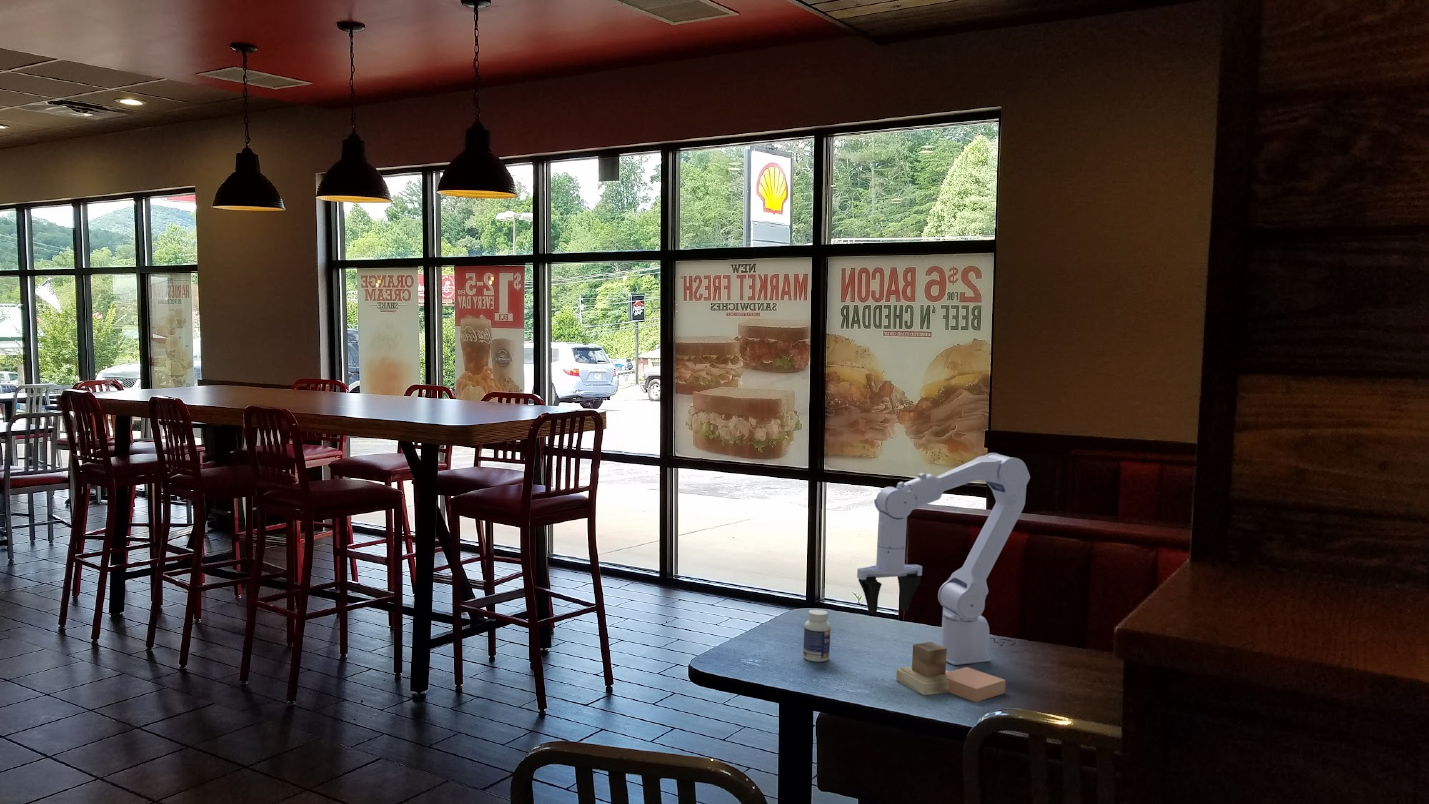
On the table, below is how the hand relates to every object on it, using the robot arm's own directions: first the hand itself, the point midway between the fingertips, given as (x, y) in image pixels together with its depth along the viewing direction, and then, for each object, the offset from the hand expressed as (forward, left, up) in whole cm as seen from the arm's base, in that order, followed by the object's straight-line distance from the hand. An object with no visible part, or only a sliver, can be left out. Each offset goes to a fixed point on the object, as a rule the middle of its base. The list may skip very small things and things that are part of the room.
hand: (888, 611), depth 208 cm
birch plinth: (0, +15, -10) cm, 18 cm away
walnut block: (0, +15, -8) cm, 17 cm away
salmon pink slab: (-6, +20, -10) cm, 23 cm away
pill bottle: (+13, -6, -11) cm, 18 cm away
